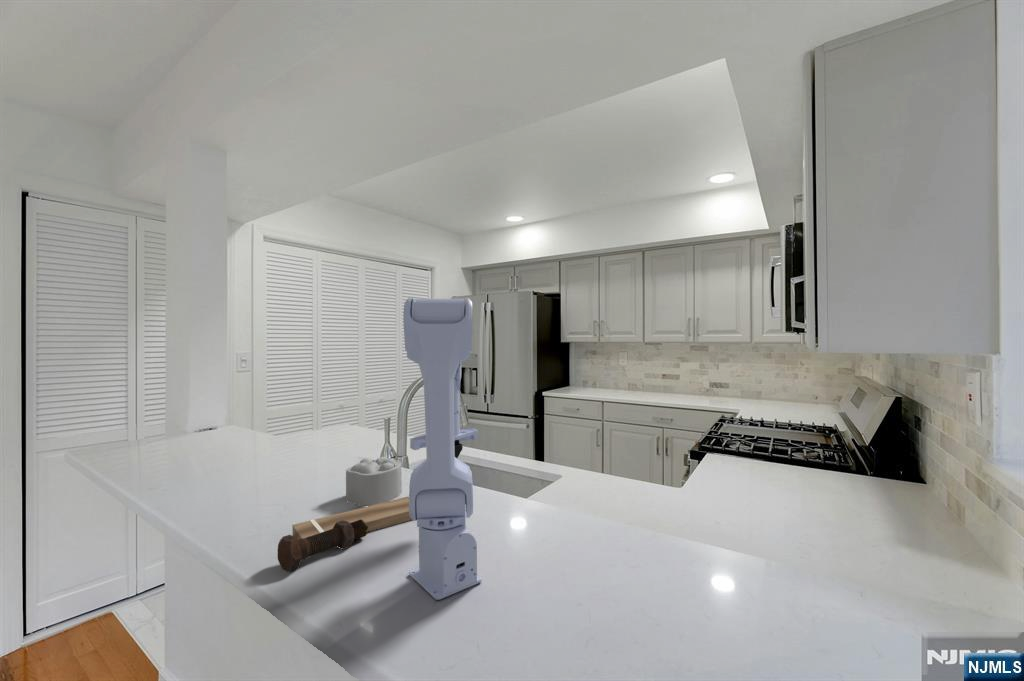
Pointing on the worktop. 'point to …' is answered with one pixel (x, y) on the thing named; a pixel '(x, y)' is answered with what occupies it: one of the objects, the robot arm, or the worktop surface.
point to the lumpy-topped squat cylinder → (374, 481)
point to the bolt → (318, 543)
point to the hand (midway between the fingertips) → (445, 479)
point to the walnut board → (371, 515)
